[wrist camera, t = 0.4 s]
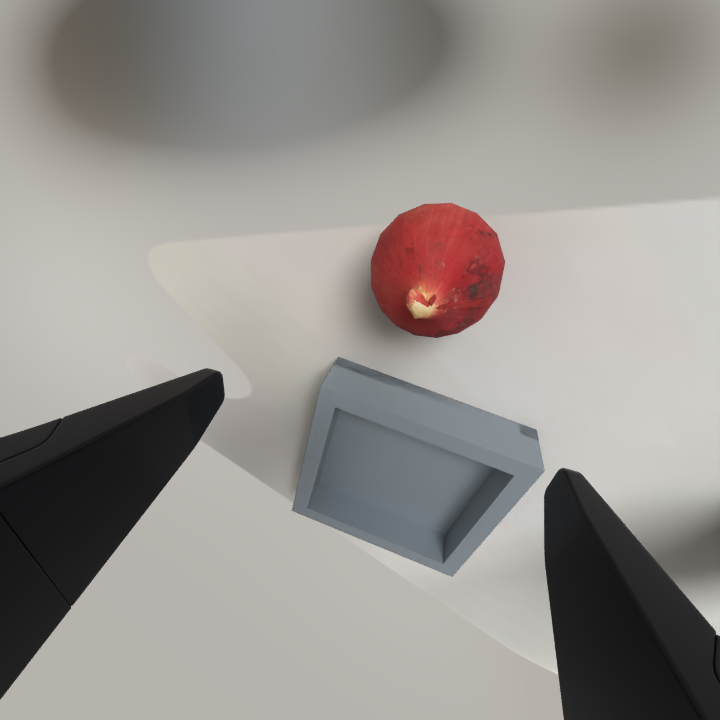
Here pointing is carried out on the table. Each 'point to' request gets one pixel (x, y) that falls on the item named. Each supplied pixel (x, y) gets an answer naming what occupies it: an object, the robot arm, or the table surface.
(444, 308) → the onion
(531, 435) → the tray
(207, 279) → the table surface
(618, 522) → the robot arm
